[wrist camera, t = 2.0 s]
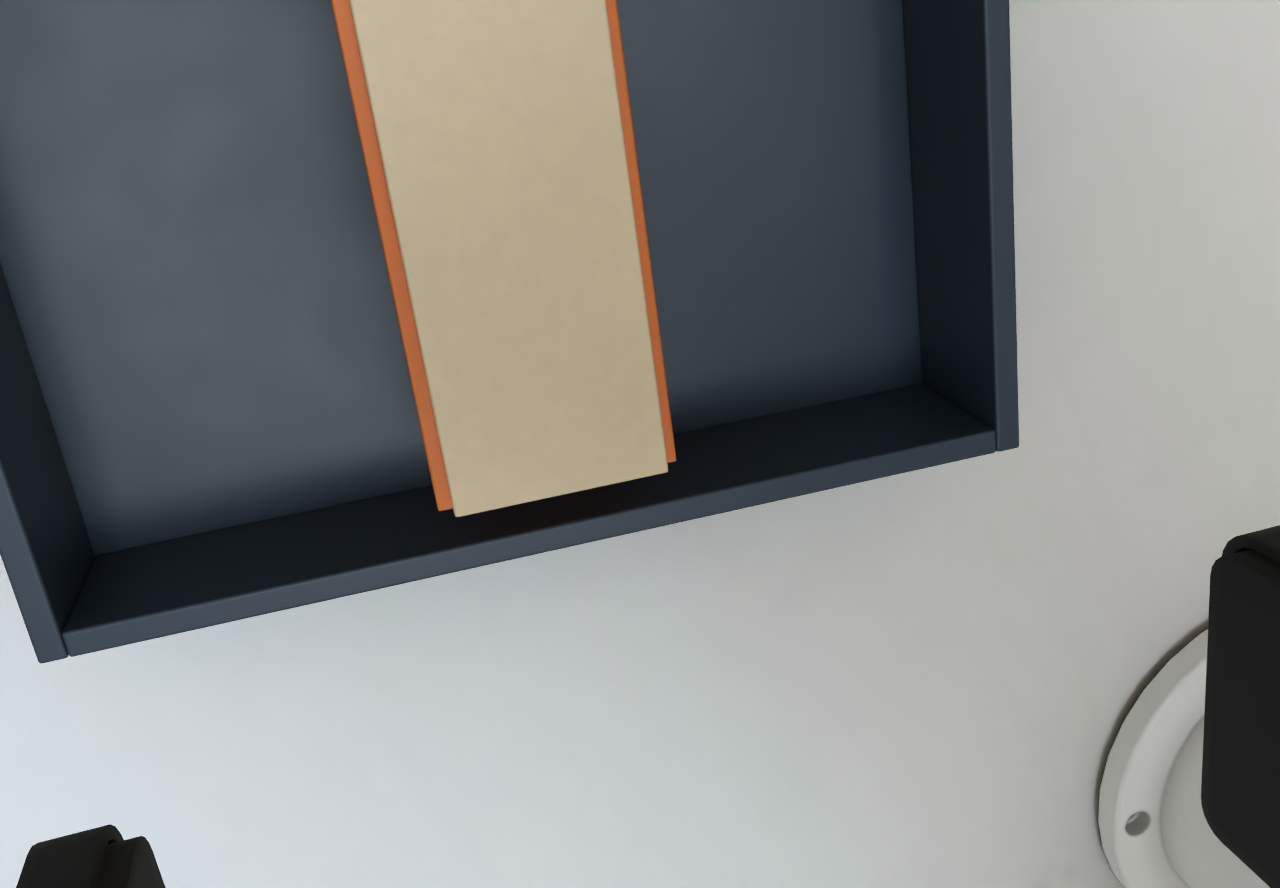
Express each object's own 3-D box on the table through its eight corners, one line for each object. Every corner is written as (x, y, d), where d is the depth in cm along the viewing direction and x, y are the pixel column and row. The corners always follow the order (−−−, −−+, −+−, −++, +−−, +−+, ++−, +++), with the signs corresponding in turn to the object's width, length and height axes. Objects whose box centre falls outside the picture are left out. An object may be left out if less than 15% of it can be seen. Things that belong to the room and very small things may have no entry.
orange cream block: (551, -90, 27) (607, -117, 21) (620, 387, 31) (683, 469, 25) (319, -60, 26) (314, -80, 20) (420, 427, 30) (440, 522, 24)
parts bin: (908, -239, 28) (1004, -281, 24) (938, 396, 33) (1020, 448, 29) (-151, -115, 24) (-248, -141, 20) (78, 577, 29) (38, 665, 25)
